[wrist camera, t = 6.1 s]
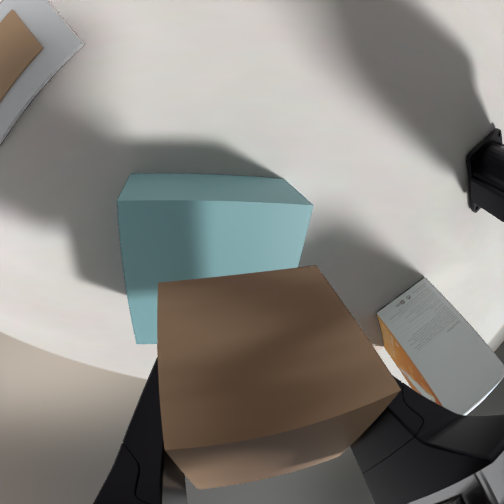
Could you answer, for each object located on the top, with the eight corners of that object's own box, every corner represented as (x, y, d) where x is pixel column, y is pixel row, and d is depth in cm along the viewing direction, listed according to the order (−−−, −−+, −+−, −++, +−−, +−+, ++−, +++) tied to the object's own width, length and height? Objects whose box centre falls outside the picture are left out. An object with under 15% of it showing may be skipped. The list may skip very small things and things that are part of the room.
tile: (29, -21, 4) (24, -24, 4) (85, 44, 8) (80, 42, 8) (-48, 77, 5) (-55, 78, 5) (-1, 146, 9) (-8, 149, 9)
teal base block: (282, 177, 15) (313, 205, 12) (259, 292, 19) (278, 335, 16) (131, 172, 13) (117, 200, 10) (139, 296, 17) (136, 344, 14)
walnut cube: (315, 265, 9) (401, 389, 5) (294, 358, 12) (338, 456, 8) (157, 282, 8) (164, 449, 4) (180, 376, 11) (198, 489, 7)
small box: (374, 312, 24) (452, 424, 13) (425, 274, 23) (510, 369, 13) (383, 348, 28) (440, 436, 18) (425, 317, 28) (487, 397, 17)
